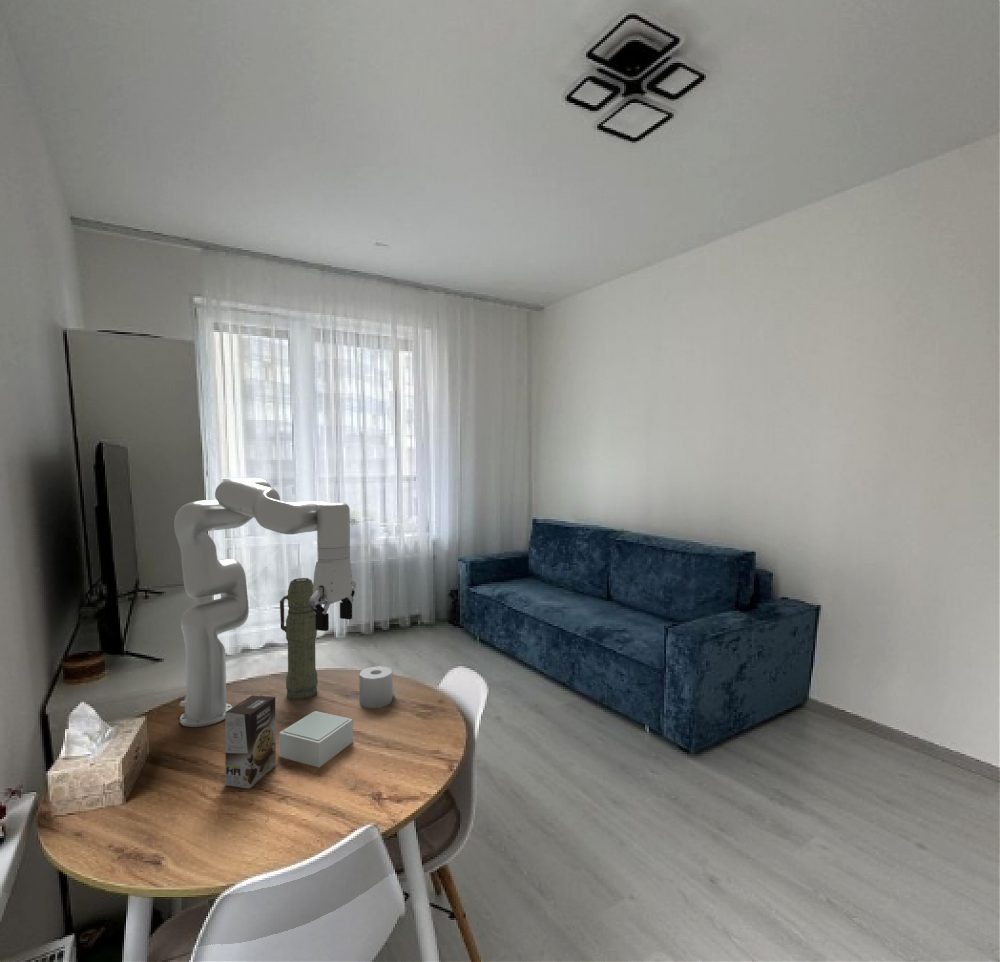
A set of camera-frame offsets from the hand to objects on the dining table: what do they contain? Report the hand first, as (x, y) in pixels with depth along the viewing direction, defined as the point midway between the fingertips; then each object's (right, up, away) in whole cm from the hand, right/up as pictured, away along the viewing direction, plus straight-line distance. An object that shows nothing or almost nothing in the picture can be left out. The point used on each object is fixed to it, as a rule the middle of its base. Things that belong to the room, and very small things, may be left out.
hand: (334, 624), depth 124 cm
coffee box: (-15, -31, -10) cm, 36 cm away
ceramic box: (-5, -31, +1) cm, 31 cm away
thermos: (-20, -30, +32) cm, 49 cm away
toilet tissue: (+4, -31, +28) cm, 42 cm away
